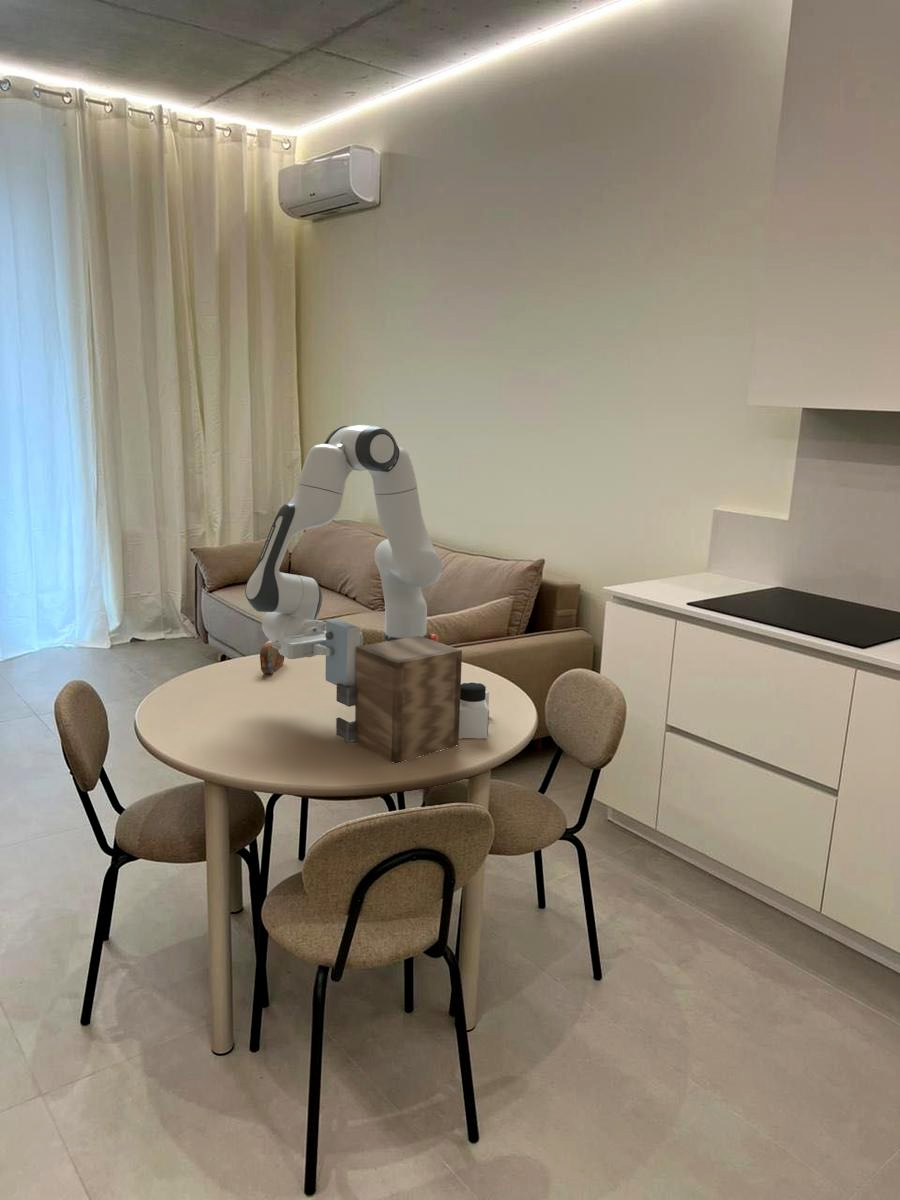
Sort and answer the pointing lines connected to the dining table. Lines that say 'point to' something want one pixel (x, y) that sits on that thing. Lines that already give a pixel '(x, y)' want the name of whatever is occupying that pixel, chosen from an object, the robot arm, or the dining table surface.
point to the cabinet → (404, 698)
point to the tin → (270, 658)
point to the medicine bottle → (473, 711)
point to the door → (342, 652)
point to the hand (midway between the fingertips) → (339, 651)
